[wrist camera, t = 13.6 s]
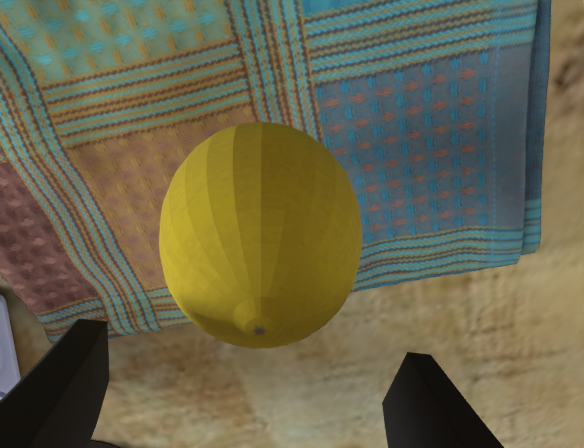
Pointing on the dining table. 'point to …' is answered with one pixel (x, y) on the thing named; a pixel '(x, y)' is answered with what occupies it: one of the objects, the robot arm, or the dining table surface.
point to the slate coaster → (99, 445)
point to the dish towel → (269, 108)
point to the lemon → (260, 235)
